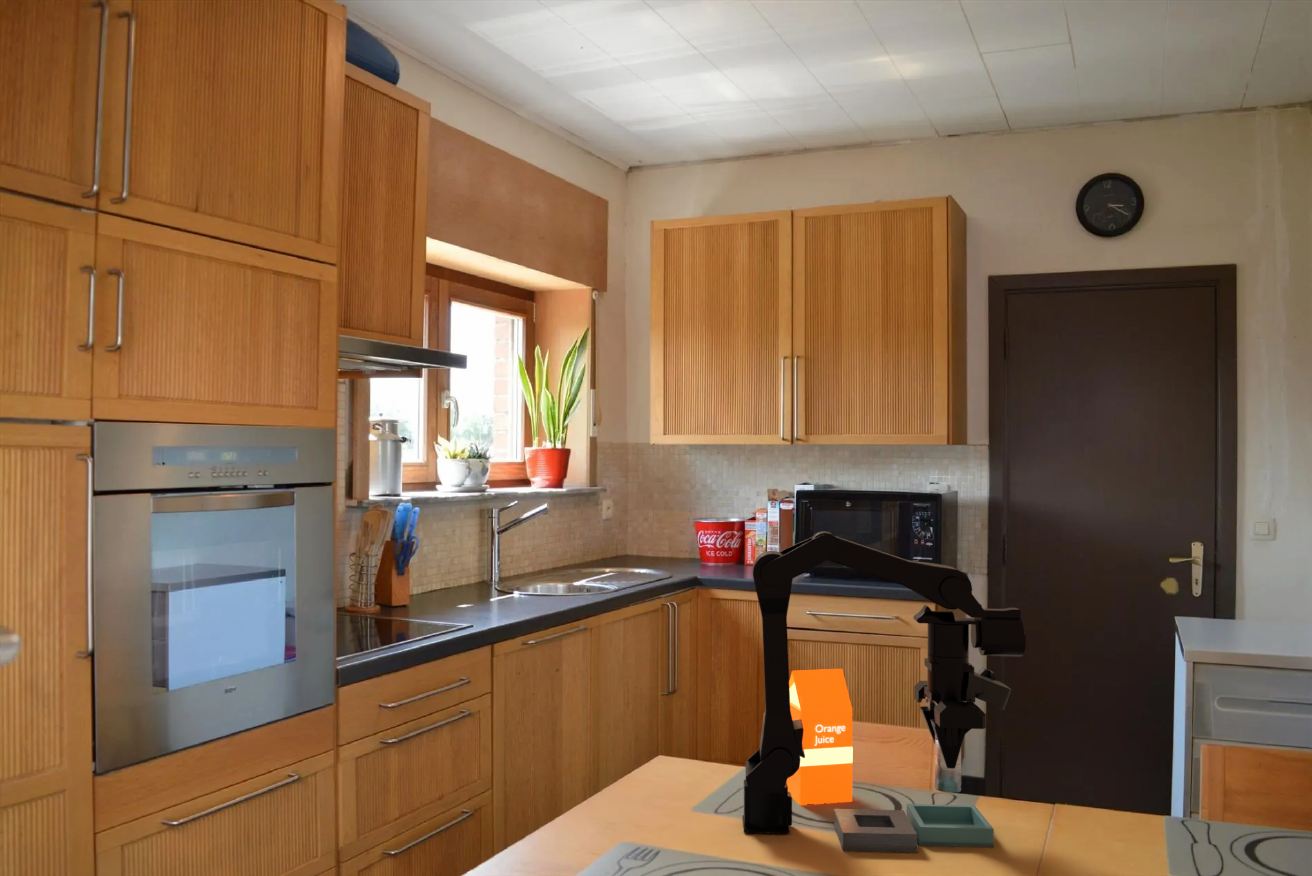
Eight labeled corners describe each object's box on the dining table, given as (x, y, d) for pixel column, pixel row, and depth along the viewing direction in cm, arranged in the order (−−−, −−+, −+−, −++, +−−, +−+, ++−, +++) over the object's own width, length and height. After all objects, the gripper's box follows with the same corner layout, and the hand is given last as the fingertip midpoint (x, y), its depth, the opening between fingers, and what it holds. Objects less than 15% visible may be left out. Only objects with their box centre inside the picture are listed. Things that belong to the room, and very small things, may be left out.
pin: (937, 792, 147) (938, 736, 148) (932, 784, 151) (932, 730, 151) (963, 793, 147) (963, 737, 147) (957, 785, 151) (957, 731, 151)
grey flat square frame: (842, 851, 142) (842, 832, 142) (834, 826, 152) (834, 808, 152) (917, 853, 141) (917, 834, 141) (903, 827, 151) (903, 810, 151)
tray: (920, 845, 144) (920, 827, 144) (906, 821, 154) (906, 804, 154) (993, 847, 144) (993, 828, 144) (975, 822, 154) (975, 805, 154)
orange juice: (782, 790, 168) (782, 666, 169) (833, 787, 171) (833, 664, 171) (800, 806, 161) (800, 675, 162) (853, 802, 163) (853, 673, 164)
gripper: (1024, 668, 140) (1024, 785, 139) (987, 644, 159) (987, 748, 158) (940, 666, 141) (940, 783, 140) (913, 643, 159) (913, 746, 159)
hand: (947, 764), depth 149 cm, fingers closed on pin, 4 cm apart
